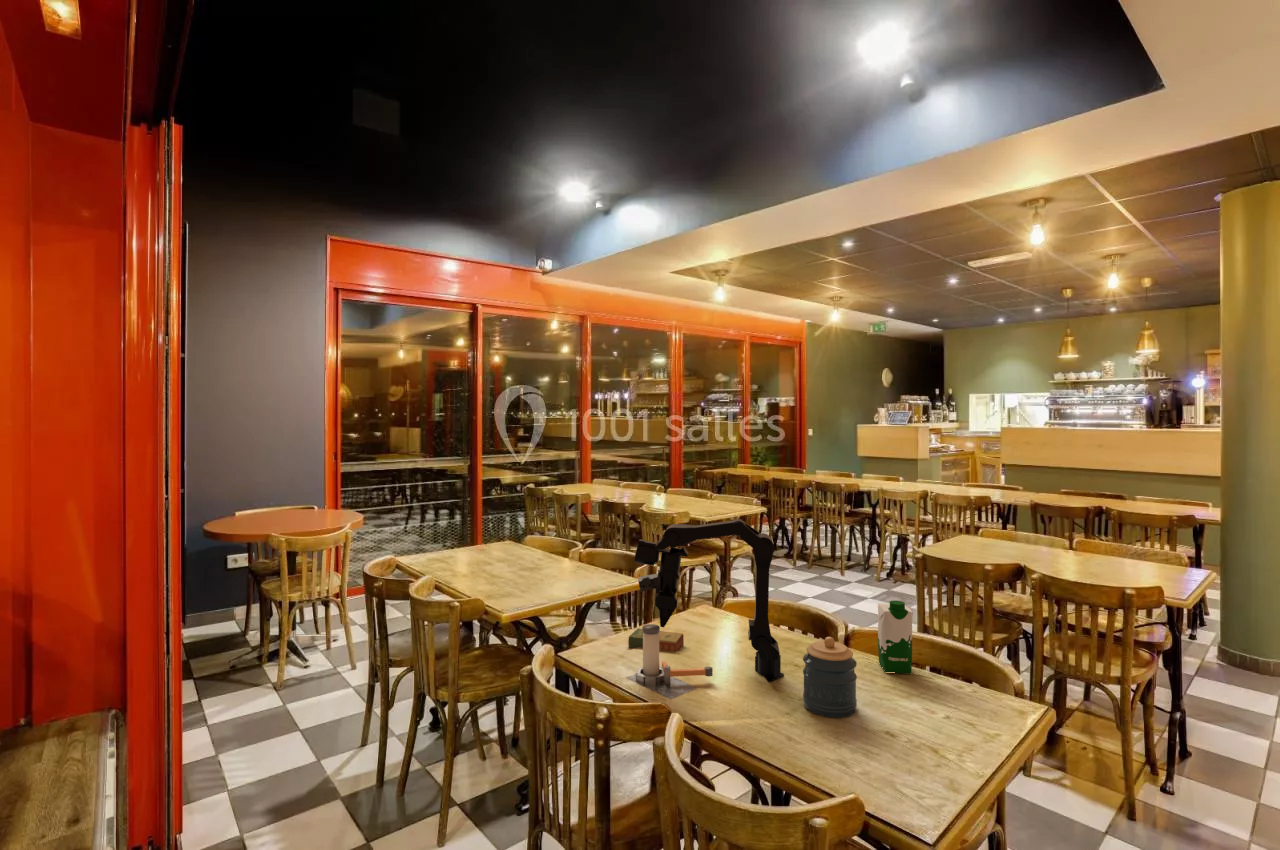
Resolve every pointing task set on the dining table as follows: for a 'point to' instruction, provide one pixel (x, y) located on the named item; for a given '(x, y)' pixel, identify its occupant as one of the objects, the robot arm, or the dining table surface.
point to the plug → (650, 649)
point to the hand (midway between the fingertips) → (662, 621)
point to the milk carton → (895, 637)
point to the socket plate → (661, 683)
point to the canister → (829, 679)
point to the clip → (684, 672)
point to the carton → (666, 640)
